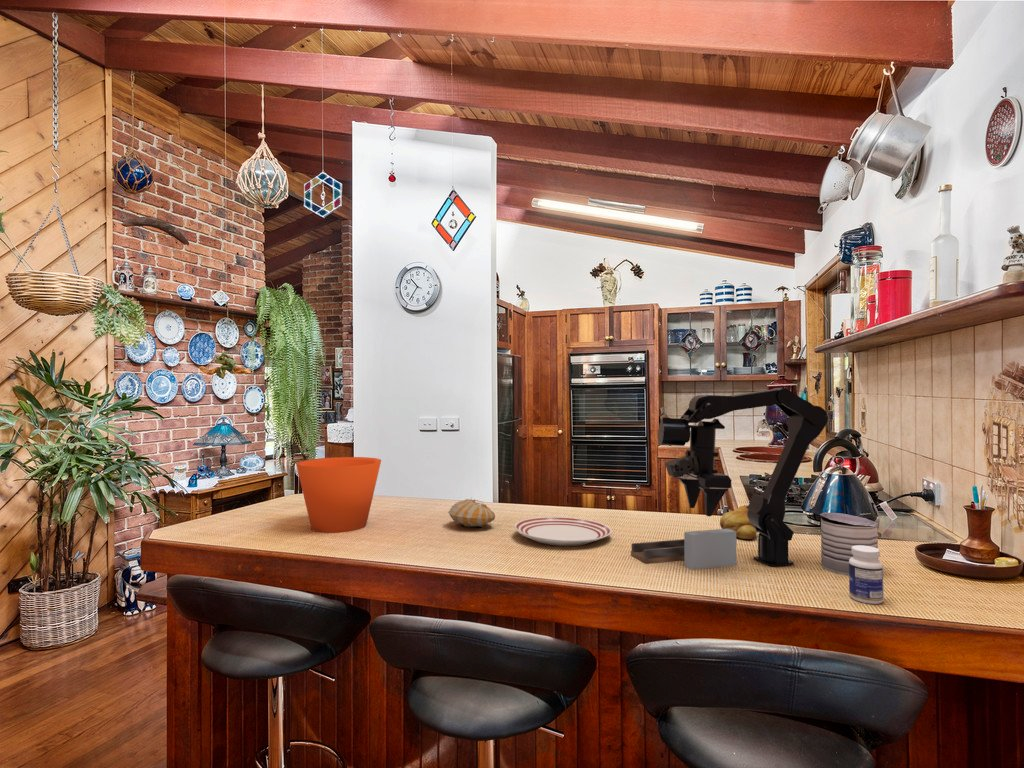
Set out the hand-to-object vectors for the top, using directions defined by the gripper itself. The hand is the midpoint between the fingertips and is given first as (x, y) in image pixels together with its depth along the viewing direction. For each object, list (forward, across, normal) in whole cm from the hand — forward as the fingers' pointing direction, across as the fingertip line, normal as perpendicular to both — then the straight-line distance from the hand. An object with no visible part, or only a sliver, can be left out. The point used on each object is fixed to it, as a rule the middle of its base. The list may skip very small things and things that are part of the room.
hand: (700, 511), depth 133 cm
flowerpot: (+16, -46, -94) cm, 105 cm away
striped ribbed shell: (+15, -44, -52) cm, 70 cm away
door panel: (+12, +3, +2) cm, 12 cm away
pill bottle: (+11, +27, +22) cm, 36 cm away
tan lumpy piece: (+11, -23, +22) cm, 34 cm away
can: (+11, +8, +32) cm, 35 cm away
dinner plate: (+14, -26, -28) cm, 41 cm away
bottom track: (+12, -5, -5) cm, 14 cm away
